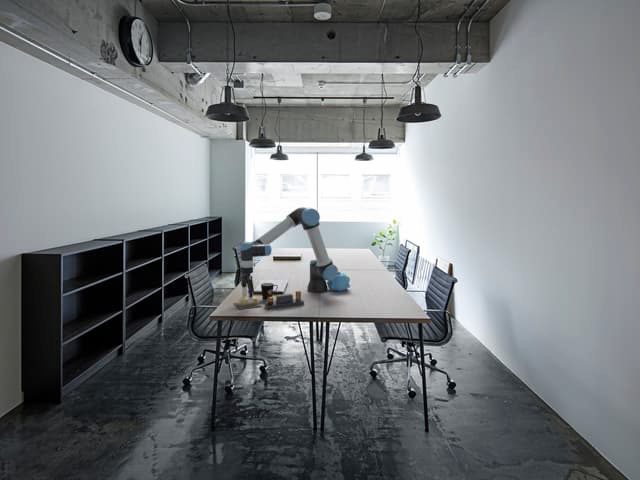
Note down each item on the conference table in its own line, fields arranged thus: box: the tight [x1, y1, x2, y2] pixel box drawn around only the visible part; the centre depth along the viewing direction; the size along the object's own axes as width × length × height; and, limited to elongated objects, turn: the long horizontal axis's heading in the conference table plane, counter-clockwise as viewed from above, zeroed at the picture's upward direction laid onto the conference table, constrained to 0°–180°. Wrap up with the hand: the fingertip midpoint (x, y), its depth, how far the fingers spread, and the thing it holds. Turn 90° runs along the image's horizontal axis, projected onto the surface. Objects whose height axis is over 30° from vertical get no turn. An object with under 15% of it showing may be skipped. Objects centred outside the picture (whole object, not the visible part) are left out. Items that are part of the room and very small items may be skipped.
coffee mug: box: [260, 282, 279, 301], centre depth 256 cm, size 12×9×10 cm
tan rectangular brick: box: [237, 295, 258, 307], centre depth 240 cm, size 11×6×4 cm, turn 117°
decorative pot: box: [326, 271, 351, 292], centre depth 282 cm, size 16×16×14 cm
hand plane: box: [264, 290, 305, 310], centre depth 240 cm, size 24×7×8 cm, turn 117°
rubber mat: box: [233, 301, 262, 311], centre depth 240 cm, size 14×14×1 cm
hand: (247, 299), depth 240 cm, fingers open, 13 cm apart
